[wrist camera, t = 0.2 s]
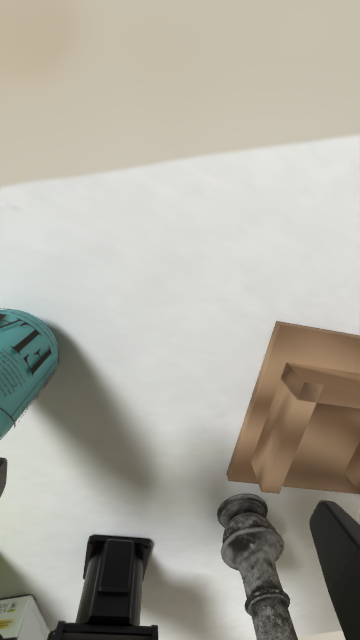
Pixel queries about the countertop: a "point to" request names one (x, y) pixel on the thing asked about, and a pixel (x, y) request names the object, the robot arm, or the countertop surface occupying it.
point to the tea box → (22, 620)
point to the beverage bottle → (23, 363)
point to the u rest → (303, 414)
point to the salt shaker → (256, 564)
